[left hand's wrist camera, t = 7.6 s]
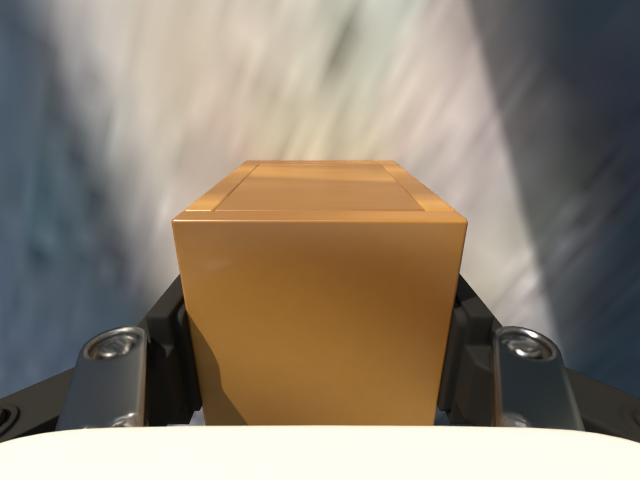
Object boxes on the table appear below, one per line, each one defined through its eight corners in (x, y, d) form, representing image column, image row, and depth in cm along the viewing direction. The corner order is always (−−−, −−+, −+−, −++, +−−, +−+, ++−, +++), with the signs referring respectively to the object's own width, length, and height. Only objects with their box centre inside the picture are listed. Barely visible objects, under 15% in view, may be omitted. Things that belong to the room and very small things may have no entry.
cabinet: (370, 463, 21) (396, 652, 14) (269, 463, 21) (242, 652, 14) (394, 160, 14) (469, 220, 7) (245, 160, 14) (169, 219, 7)
